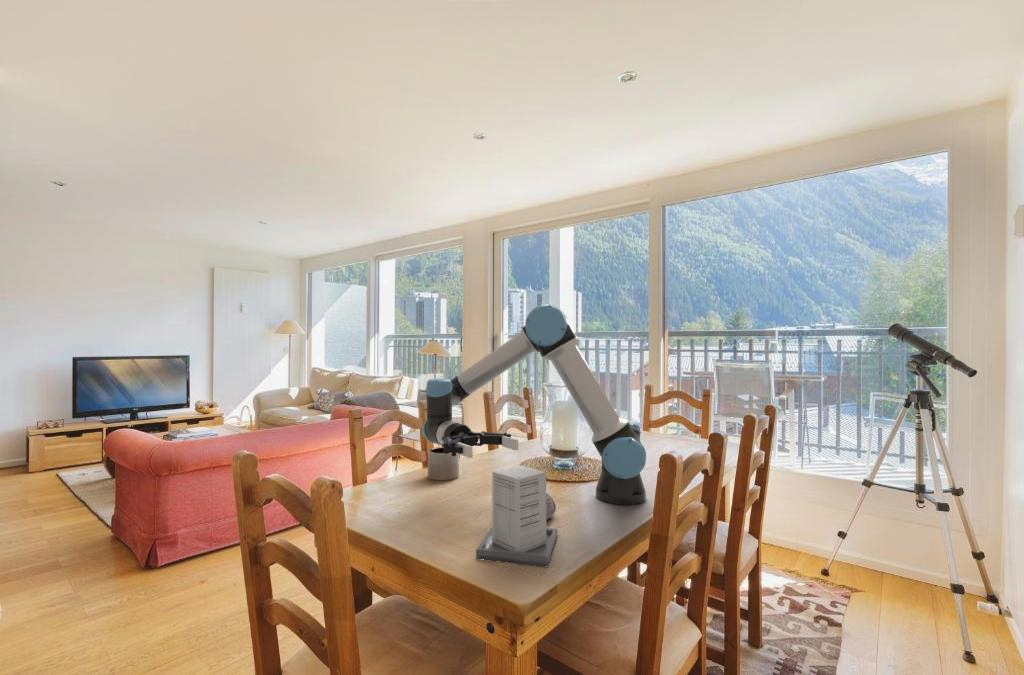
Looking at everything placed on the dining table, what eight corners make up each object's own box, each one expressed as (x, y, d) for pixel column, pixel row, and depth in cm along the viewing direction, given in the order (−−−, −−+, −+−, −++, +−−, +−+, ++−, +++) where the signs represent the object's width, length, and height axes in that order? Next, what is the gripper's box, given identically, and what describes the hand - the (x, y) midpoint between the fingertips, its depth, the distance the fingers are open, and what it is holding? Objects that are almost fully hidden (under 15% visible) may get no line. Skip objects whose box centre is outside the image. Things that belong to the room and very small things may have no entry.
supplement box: (547, 544, 115) (548, 472, 115) (518, 556, 108) (519, 479, 109) (519, 532, 122) (520, 464, 122) (490, 542, 116) (491, 470, 116)
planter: (421, 478, 173) (421, 450, 173) (442, 471, 182) (442, 445, 182) (444, 483, 166) (444, 454, 166) (465, 476, 175) (465, 449, 175)
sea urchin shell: (565, 519, 134) (565, 490, 134) (523, 529, 126) (523, 498, 127) (537, 505, 145) (537, 478, 145) (497, 514, 138) (497, 485, 138)
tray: (557, 537, 121) (557, 528, 121) (547, 567, 105) (548, 556, 105) (494, 531, 125) (494, 523, 125) (476, 559, 109) (476, 549, 109)
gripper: (492, 443, 148) (534, 456, 130) (414, 455, 134) (450, 471, 116) (491, 418, 148) (534, 427, 130) (413, 427, 134) (449, 439, 116)
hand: (494, 448), depth 123 cm, fingers open, 13 cm apart
